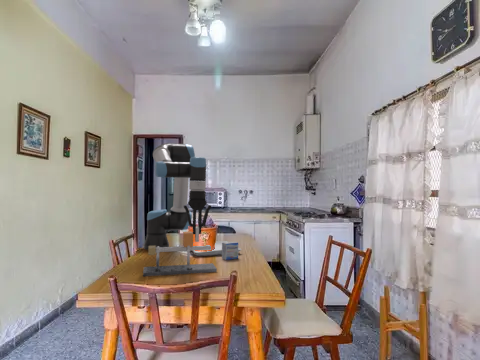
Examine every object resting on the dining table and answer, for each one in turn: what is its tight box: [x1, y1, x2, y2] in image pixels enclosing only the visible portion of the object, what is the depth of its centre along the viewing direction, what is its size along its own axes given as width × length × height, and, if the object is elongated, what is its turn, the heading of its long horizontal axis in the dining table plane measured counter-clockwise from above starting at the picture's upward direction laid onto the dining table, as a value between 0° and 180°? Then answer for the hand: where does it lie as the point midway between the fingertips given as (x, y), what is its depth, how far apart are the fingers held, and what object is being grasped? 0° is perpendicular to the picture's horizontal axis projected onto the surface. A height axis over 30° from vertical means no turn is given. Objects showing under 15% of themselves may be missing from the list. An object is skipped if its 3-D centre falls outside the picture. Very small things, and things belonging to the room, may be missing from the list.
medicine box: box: [221, 241, 239, 261], centre depth 170 cm, size 8×4×9 cm, turn 123°
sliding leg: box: [182, 231, 194, 267], centre depth 145 cm, size 6×4×15 cm
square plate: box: [192, 240, 242, 257], centre depth 188 cm, size 27×27×4 cm
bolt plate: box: [142, 262, 218, 277], centre depth 145 cm, size 10×32×2 cm, turn 105°
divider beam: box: [147, 245, 211, 269], centre depth 144 cm, size 6×28×10 cm, turn 105°
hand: (196, 241), depth 147 cm, fingers closed
